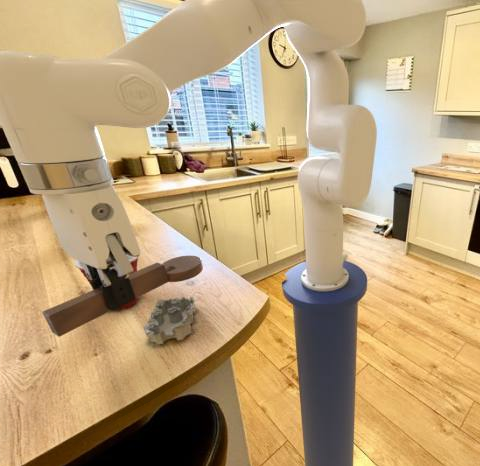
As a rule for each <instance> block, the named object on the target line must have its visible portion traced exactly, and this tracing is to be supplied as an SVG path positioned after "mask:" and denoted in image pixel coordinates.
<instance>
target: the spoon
mask: <svg viewBox="0 0 480 466" xmlns="http://www.w3.org/2000/svg"><path fill="white" fill-rule="evenodd" d="M203 269H204V267H203V263H202V259H201V258H200V257H199V256H197V255H181V256H176V257H173V258H170V259H167V260H165V261H164V262H162V263H160V262H155V263H153V264H150V265H148V266H145V267H144V268H140V269H139V270H138V269H137V271H136V272H134V273H131V274H129V280H130V283H131V286H132V289H133V291H134V294H135V297H136V298H138V299H139V298H140V297H141V296H143V295H145V294H147V293H149V292H151V291H153V290H156V289H158V288H159V287H162V286H164V285H165V284H167V283H179V282H184V281H187V280H190V279H193V278H195V277H197V276H199V275H200V274H201V273H202V272H203ZM136 298H135V299H136ZM110 312H112V311H111V310H110V309H109V308H108V306H107V303H106V301H105V298H104V296H103V293H102V291H101V288H100V287H99V288H97V289H94V290H93V289H92V290H90V291H86V292H84V293H82V294H81V295H78V296H76V297H73V298H71V299H69V300H67V301H64V302H61V303H59V304H57V305H54V306H53V307H50V308H48V309H45V310H43V311H42V315H43V317H44V319H45V321H46V323H47V325H48V327H49V329H50V331H51V333H52V334H54V335H55V336H57V337H58V338H60V337H62V336H64V335H66V334H68V333H70V332H72V331H74V330H75V329H78V328H80V327H82V326H84V325H86V324H88V323H90V322H92V321H94V320H95V319H98V318H100V317H102V316H104V315H105V314H108V313H110Z"/></svg>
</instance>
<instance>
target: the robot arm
mask: <svg viewBox="0 0 480 466" xmlns="http://www.w3.org/2000/svg"><path fill="white" fill-rule="evenodd" d="M366 25H367V15H366V9H365V6H364V3H363V0H184V1H182V2H181V3H179V4H178V5H176V6H175V7H173V8H172V9H171V10H169V11H168V12H166V14H164V15H163V16H162V17H161V18H160V19H158V20H157V21H156V22H155V23H153V24H152V25H151V26H149V27H148V28H146V29H145V30H144V31H141V32H140V33H139V34H138V35H135V36H134V37H133V38H131V39H129V40H128V41H126V42H125V43H124V44H121V46H120V45H119V47H117V48H116V49H114V50H113V51H111V52H110V53H108V54H107V55H105V56H103V57H102V58H61V57H59V56H55V55H51V54H45V53H39V52H32V51H31V52H30V51H21V50H20V51H19V50H6V49H5V50H3V49H2V50H1V49H0V126H1V128H2V130H3V132H4V135H5V137H6V139H7V142H8V144H9V146H10V149H11V152H12V153H13V156H14V158H15V161H16V162H17V165H18V167H19V169H20V171H21V174H22V176H23V179H24V181H25V183H26V186H27V188H28V190H29V192H30V193H31V194H34V195H41V197H42V201H43V204H44V207H45V209H46V212H47V215H48V219H49V220H50V223H51V227H52V229H53V231H54V234H55V236H56V239H57V240H58V243H59V244H60V246H61V248H62V250H63V252H64V253H65V254H66V255H67V256H69V257H70V258H72V259H74V260H78V261H80V262H81V263H82V265H83V268H84V270H85V273H86V275H87V277H88V278H89V279H90V280H92V279H94V280H92V281H90V283H89V285H90V284H91V285H90V286H91V288H92V290H94V289H97V288H99V287H100V288H101V291H102V293H103V296H104V298H105V301H106V303H107V306H108V308H109V309H110V310H111V311H110V312H115V311H114V310H116V309H118V308H120V307H122V306H124V305H126V304H128V303H130V302H132V301H134V300H135V298H136V297H135V294H134V291H133V289H132V286H131V283H130V280H129V273H131V272H133V271H134V269H133V267H132V265H131V263H130V262H129V260H128V258H127V256H126V254H127V255H129V256H132V257H138V256H139V255H140V256H141V252H142V251H141V248H140V244H139V242H138V239H137V236H136V233H135V230H134V228H133V226H132V224H131V223H132V222H131V219H130V217H129V215H128V212H127V210H126V208H125V206H124V204H123V202H122V200H121V198H120V196H119V194H118V191H117V190H116V188H115V186H114V185H113V184H115V181H114V177H113V175H112V171H111V167H110V165H109V162H108V159H107V156H106V153H105V150H104V145H103V143H102V140H101V137H100V133H99V131H98V127H97V126H110V127H121V128H131V129H145V128H150V127H153V126H155V125H158V124H160V123H161V122H162V121H163V120H164V119H165V118H166V117H167V116H168V114H169V112H170V108H171V96H170V94H171V93H172V92H173V91H175V90H177V89H178V88H180V87H182V86H184V85H186V84H187V83H190V82H192V81H194V80H197V79H200V78H203V77H206V76H209V75H212V74H215V73H217V72H219V71H221V70H223V69H226V68H227V67H229V66H230V65H232V64H233V63H235V61H237V60H238V59H239V58H241V57H242V56H243V55H244V54H245V53H246V52H247V51H249V50H250V49H251V48H253V47H254V46H255V45H256V44H258V42H260V41H262V40H263V39H264V38H265V37H266V36H268V35H269V34H270V33H272V32H273V31H275V30H277V29H278V28H281V27H283V28H284V29H283V30H284V33H285V36H286V38H287V40H288V42H289V44H290V45H291V47H292V48H293V50H294V51H295V52H296V54H297V56H299V58H300V60H301V62H302V64H303V65H304V68H305V70H306V74H307V79H308V96H307V97H308V98H307V99H308V100H307V116H306V117H307V118H306V137H307V141H308V143H309V144H310V145H311V147H312V148H315V149H317V150H319V151H323V152H329V153H338V154H340V158H339V159H338V158H333V157H326V156H313V157H310V158H307V159H306V160H305V161H303V162H302V164H301V165H300V166H299V168H298V172H297V186H298V190H299V194H300V198H301V203H302V210H303V224H304V246H305V262H306V267H307V269H306V270H304V271H303V273H302V275H301V281H302V284H303V285H304V286H305V287H307V288H309V289H311V290H314V291H321V292H326V291H333V290H337V289H339V288H341V287H343V286H344V285H345V284H346V283H347V282H348V280H349V274H348V272H347V270H346V269H344V268H343V263H344V261H347V259H348V258H349V255H348V254H347V253H346V252H344V212H343V209H342V206H344V207H347V208H356V207H358V206H361V205H362V204H363V203H364V202H365V201H366V199H367V198H368V196H369V193H370V191H371V190H370V189H371V186H372V180H373V171H374V165H375V157H376V148H377V139H378V137H377V136H378V130H377V124H376V123H377V122H376V119H375V117H374V114H373V113H372V112H371V111H370V109H368V108H367V107H365V106H363V105H359V104H349V99H350V96H349V95H350V77H349V74H348V73H349V72H348V71H347V67H346V65H345V63H344V61H343V60H342V58H341V57H340V55H339V53H338V52H337V50H341V49H342V50H343V49H347V48H350V47H353V46H355V45H356V44H357V43H358V42H359V41H360V40H361V39H362V37H363V36H364V33H365V32H366V31H365V30H366ZM140 256H139V257H140ZM139 257H138V258H139ZM110 258H111V259H110ZM113 266H115V268H113ZM116 311H117V310H116Z"/></svg>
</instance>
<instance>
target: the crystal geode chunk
mask: <svg viewBox="0 0 480 466" xmlns="http://www.w3.org/2000/svg"><path fill="white" fill-rule="evenodd" d="M195 302H196V300H195V298H194V296H190V298H186V297H184V296H181V298H178V297H175V298H169V299H157V301H156V303H155V305H154V309H152V311H151V313H150V315H149V317H148V320H147V322H146V323H145V325H143V331H144V333H145V335H146V337H149V339H150V340H149V341H150V342H152V343H156V345H163V344H165V342H166V341H168V340H170V339H176V340H177V341H182V340H184V339H185V338H186V337H187V336H189V335H191V333H192V326H191V325H192V324H194V314H195V313H196V308H195Z"/></svg>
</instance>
